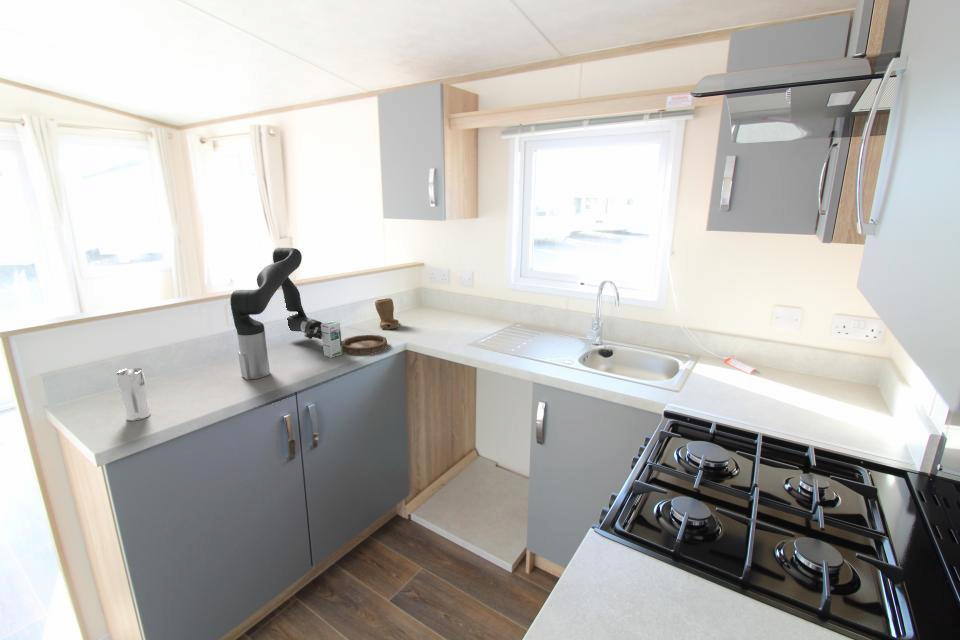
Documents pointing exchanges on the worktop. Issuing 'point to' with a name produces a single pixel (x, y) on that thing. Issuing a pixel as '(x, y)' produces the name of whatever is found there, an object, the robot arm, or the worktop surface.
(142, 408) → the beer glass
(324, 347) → the syrup box
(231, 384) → the worktop surface
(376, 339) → the round tray
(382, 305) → the tan boot
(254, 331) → the robot arm
